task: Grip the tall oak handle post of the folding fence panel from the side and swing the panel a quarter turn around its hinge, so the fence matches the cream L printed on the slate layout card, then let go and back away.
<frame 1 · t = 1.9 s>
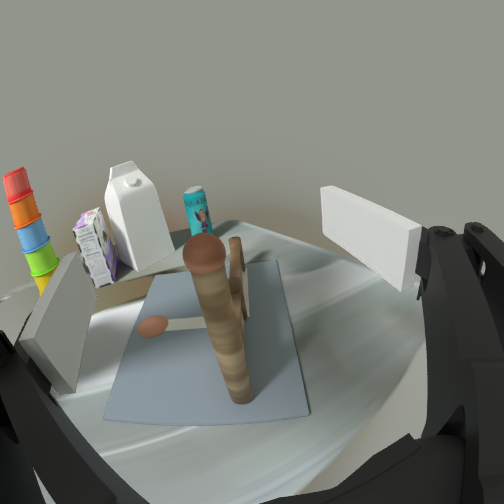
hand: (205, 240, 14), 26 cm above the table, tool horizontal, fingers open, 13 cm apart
layout card: (206, 327, 47), on the table
stacking cups: (55, 289, 65), on the table
beverage can: (204, 241, 78), on the table
milk: (147, 256, 75), on the table
fence fixed: (241, 320, 48), resting on layout card
candy box: (107, 274, 69), on the table
folding fence panel: (226, 299, 34), point 12 cm above the table, hinge at 0.0°
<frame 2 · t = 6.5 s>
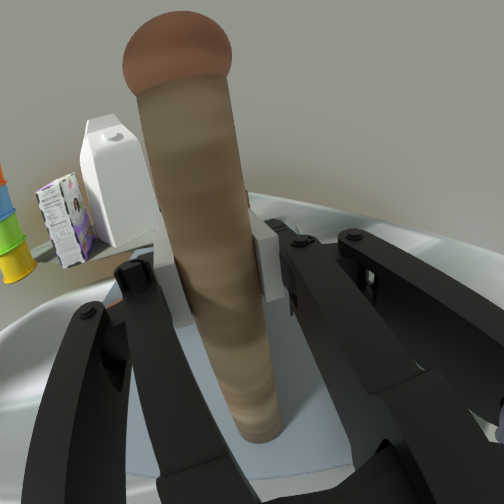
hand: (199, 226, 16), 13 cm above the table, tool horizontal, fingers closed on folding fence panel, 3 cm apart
layout card: (198, 312, 31), on the table
stacking cups: (21, 273, 49), on the table
milk: (129, 232, 59), on the table
candy box: (80, 253, 53), on the table
folding fence panel: (229, 238, 17), point 12 cm above the table, hinge at 0.0°, touching gripper
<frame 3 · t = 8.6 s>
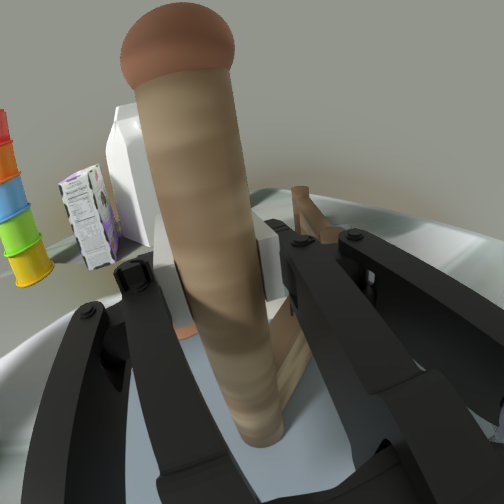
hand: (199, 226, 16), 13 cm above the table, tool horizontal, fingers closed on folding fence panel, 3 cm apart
layout card: (277, 317, 28), on the table
stacking cups: (36, 276, 46), on the table
milk: (160, 230, 56), on the table
fence fixed: (333, 301, 29), resting on layout card
candy box: (106, 253, 50), on the table
folding fence panel: (288, 237, 16), point 12 cm above the table, hinge at 31.8°, touching gripper
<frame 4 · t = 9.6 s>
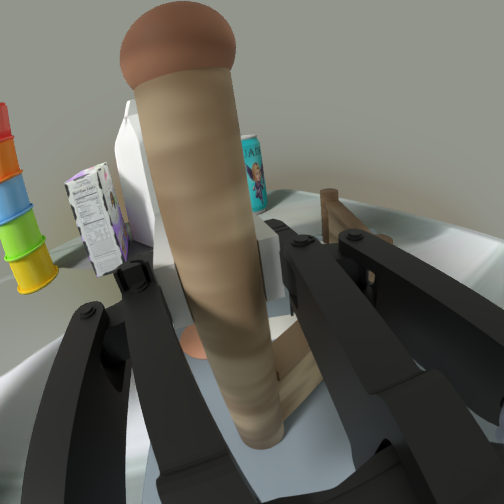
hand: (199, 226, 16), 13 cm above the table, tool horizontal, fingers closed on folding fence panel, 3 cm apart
layout card: (316, 331, 25), on the table
stacking cups: (39, 281, 44), on the table
beverage can: (254, 212, 57), on the table
milk: (172, 232, 54), on the table
fence fixed: (372, 312, 26), resting on layout card
candy box: (115, 257, 48), on the table
folding fence panel: (316, 243, 15), point 12 cm above the table, hinge at 47.3°, touching gripper
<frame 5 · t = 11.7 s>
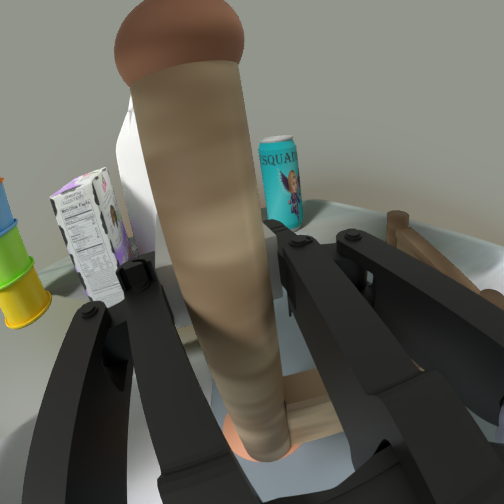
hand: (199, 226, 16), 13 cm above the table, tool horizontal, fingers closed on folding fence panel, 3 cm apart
layout card: (402, 409, 16), on the table
stacking cups: (29, 311, 35), on the table
beverage can: (286, 229, 47), on the table
milk: (189, 254, 44), on the table
fence fixed: (458, 376, 17), resting on layout card
candy box: (119, 286, 39), on the table
folding fence panel: (385, 286, 11), point 12 cm above the table, hinge at 84.0°, touching gripper
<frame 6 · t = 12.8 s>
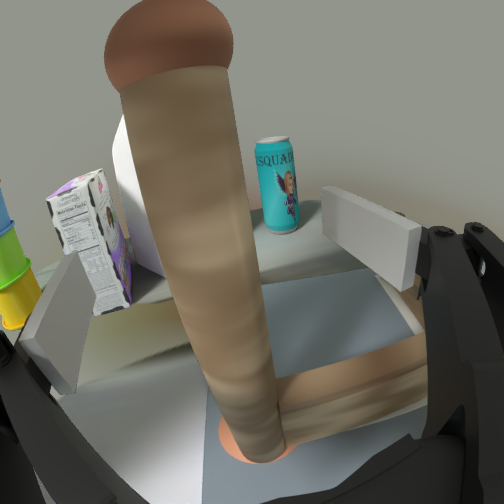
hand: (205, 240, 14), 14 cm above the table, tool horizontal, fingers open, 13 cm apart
layout card: (398, 411, 16), on the table
stacking cups: (26, 313, 34), on the table
beverage can: (283, 229, 47), on the table
milk: (185, 255, 44), on the table
fence fixed: (454, 378, 17), resting on layout card
candy box: (115, 287, 38), on the table
folding fence panel: (378, 290, 11), point 12 cm above the table, hinge at 84.3°
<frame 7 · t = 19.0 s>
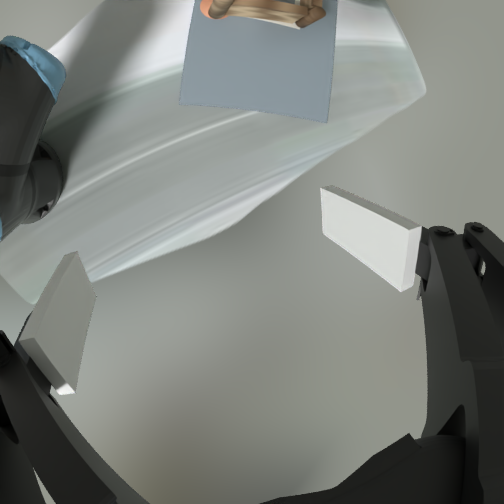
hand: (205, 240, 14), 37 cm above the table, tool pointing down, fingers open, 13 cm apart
layout card: (269, 20, 39), on the table
fence fixed: (299, 24, 40), resting on layout card
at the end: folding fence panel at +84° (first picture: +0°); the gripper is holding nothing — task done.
